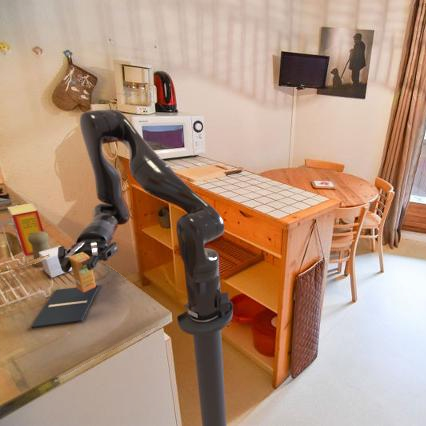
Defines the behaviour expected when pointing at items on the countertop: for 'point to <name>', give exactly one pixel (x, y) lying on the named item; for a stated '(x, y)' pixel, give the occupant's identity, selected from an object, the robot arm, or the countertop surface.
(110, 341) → the countertop surface
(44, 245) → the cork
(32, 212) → the baking soda box
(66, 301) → the slate mat
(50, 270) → the product carton
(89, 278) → the supplement box
